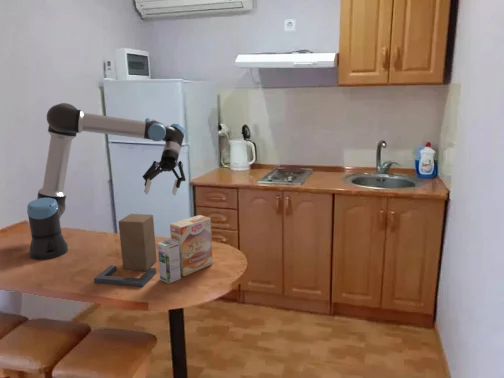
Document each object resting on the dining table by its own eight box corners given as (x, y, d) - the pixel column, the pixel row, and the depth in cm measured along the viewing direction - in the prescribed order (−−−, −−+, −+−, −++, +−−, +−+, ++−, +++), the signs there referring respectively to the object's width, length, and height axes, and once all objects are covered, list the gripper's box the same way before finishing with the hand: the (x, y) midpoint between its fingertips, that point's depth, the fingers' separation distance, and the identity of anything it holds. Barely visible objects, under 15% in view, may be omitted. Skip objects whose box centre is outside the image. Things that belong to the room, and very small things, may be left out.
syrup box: (159, 279, 155) (156, 242, 151) (172, 274, 159) (169, 238, 156) (168, 284, 151) (165, 246, 148) (181, 278, 155) (179, 242, 152)
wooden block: (146, 271, 162) (142, 222, 158) (122, 269, 164) (117, 221, 160) (157, 261, 172) (153, 214, 167) (134, 259, 174) (130, 213, 169)
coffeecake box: (183, 276, 157) (180, 227, 152) (172, 271, 162) (168, 223, 157) (213, 264, 167) (211, 217, 163) (202, 259, 172) (199, 214, 168)
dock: (94, 283, 153) (94, 278, 153) (111, 269, 164) (110, 265, 164) (142, 287, 150) (142, 281, 149) (156, 273, 160) (155, 268, 160)
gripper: (198, 158, 195) (188, 198, 185) (149, 158, 201) (137, 196, 190) (193, 148, 189) (183, 189, 178) (143, 148, 194) (130, 188, 184)
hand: (159, 193), depth 184 cm, fingers open, 12 cm apart
